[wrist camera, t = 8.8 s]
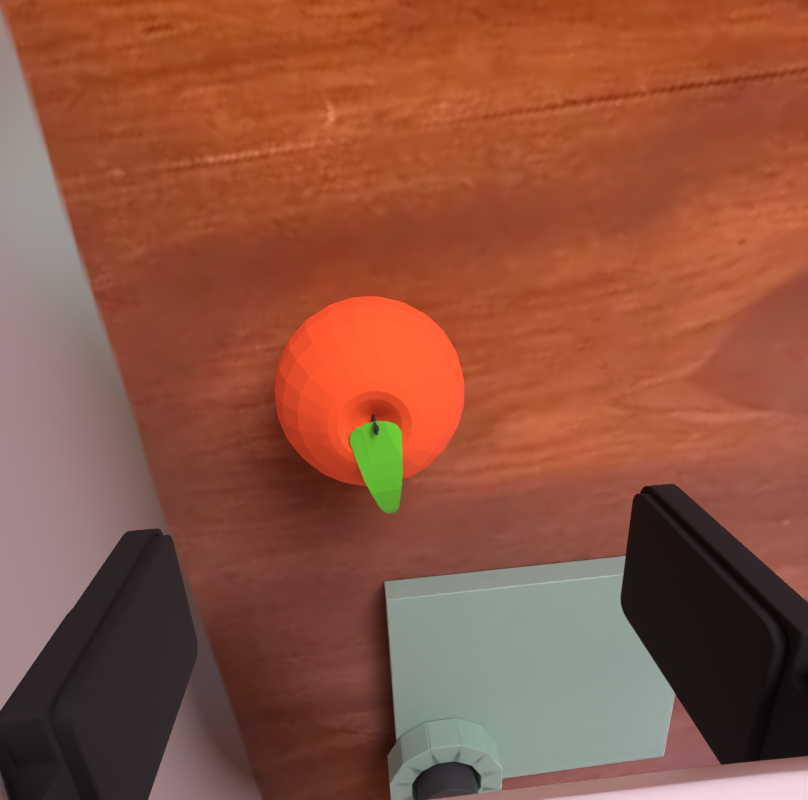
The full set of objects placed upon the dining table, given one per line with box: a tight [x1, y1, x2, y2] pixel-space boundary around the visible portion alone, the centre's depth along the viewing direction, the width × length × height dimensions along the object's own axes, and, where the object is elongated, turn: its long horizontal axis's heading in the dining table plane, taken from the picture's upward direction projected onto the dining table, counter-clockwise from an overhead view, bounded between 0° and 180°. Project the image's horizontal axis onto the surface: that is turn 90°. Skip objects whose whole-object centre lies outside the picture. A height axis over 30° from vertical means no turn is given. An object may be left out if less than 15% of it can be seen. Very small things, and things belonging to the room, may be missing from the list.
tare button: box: [417, 761, 479, 800], centre depth 28 cm, size 3×3×2 cm
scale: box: [384, 556, 675, 800], centre depth 29 cm, size 16×14×3 cm
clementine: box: [275, 296, 464, 513], centre depth 20 cm, size 8×7×7 cm
